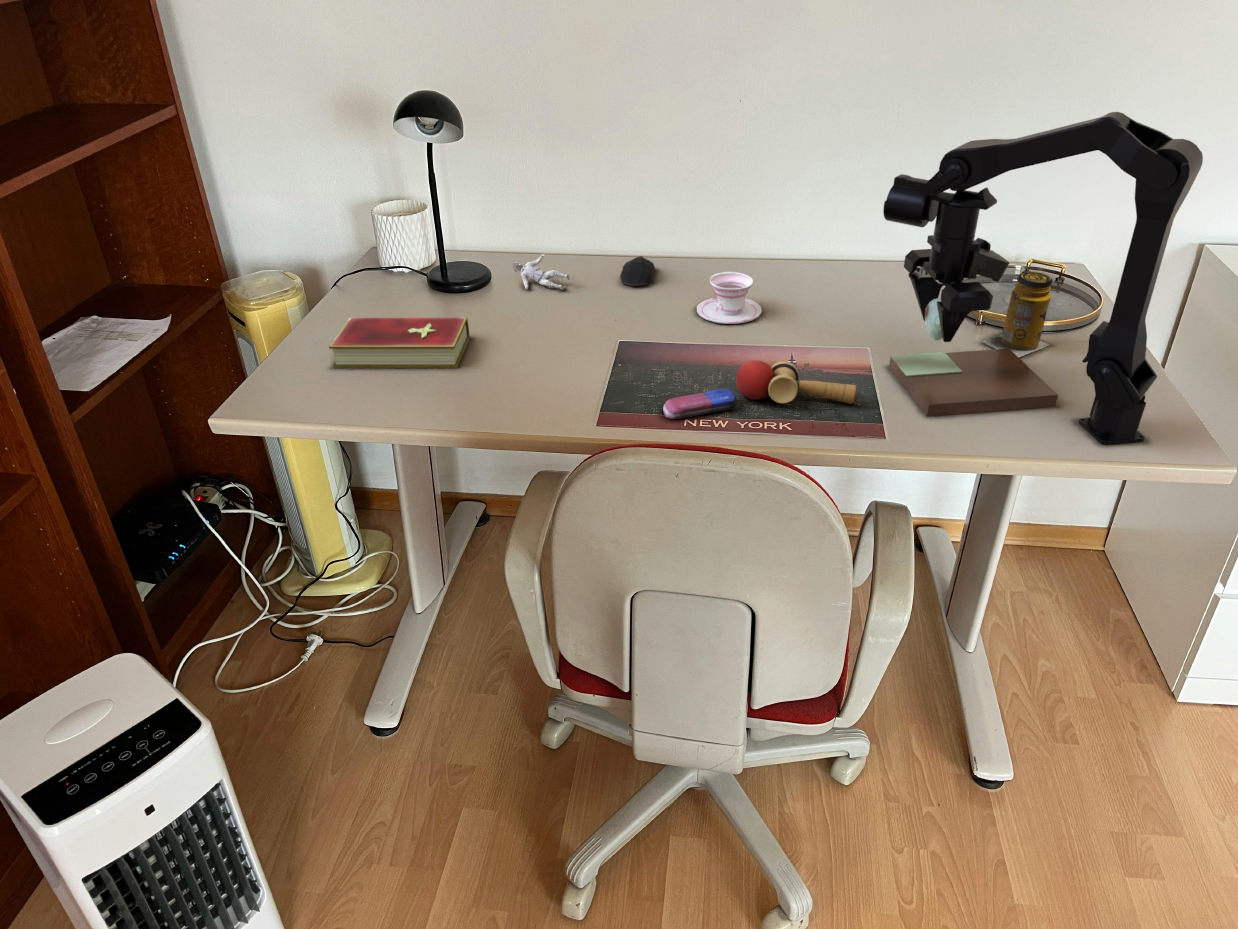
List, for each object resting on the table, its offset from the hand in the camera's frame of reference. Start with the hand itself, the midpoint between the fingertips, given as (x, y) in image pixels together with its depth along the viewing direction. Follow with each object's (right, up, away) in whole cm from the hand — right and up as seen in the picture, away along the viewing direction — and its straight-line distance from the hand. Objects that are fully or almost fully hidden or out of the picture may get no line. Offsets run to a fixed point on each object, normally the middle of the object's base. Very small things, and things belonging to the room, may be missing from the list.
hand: (937, 331), depth 141 cm
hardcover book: (-87, -1, +16) cm, 88 cm away
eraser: (-37, -13, -3) cm, 39 cm away
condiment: (+18, 0, +14) cm, 23 cm away
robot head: (0, -1, +1) cm, 2 cm away
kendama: (-22, -11, -1) cm, 25 cm away
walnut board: (+5, -8, +2) cm, 10 cm away
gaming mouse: (-45, +18, +44) cm, 65 cm away
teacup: (-29, +7, +28) cm, 41 cm away
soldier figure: (-65, +15, +41) cm, 78 cm away
